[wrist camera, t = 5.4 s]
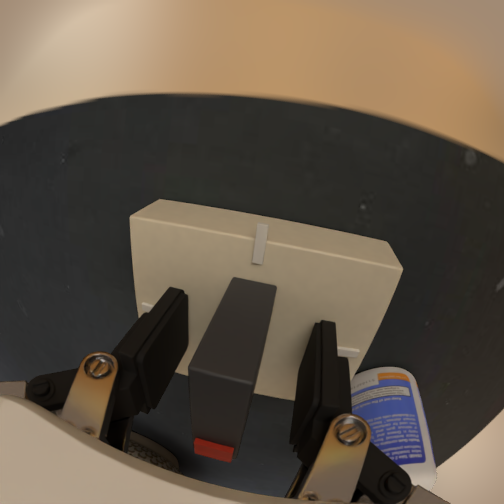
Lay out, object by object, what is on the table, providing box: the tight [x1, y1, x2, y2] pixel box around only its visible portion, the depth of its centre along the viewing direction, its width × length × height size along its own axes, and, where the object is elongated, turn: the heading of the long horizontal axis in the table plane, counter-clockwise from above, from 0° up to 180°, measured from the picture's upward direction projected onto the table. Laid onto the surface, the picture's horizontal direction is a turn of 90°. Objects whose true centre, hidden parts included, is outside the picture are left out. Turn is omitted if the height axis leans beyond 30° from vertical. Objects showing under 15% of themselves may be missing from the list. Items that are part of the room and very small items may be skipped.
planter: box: [127, 431, 184, 476], centre depth 18 cm, size 17×17×16 cm
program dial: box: [188, 277, 277, 462], centre depth 9 cm, size 5×2×5 cm, turn 173°
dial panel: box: [130, 199, 403, 401], centre depth 12 cm, size 10×9×3 cm
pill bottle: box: [350, 367, 437, 491], centre depth 10 cm, size 5×5×10 cm
